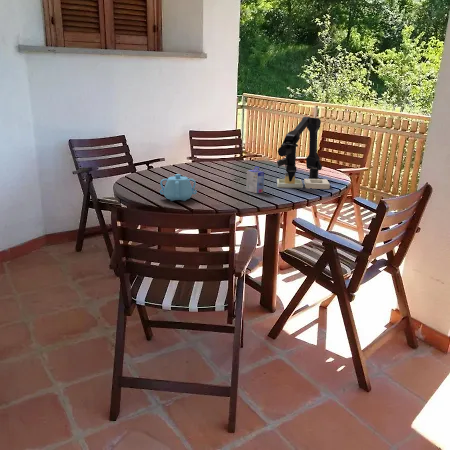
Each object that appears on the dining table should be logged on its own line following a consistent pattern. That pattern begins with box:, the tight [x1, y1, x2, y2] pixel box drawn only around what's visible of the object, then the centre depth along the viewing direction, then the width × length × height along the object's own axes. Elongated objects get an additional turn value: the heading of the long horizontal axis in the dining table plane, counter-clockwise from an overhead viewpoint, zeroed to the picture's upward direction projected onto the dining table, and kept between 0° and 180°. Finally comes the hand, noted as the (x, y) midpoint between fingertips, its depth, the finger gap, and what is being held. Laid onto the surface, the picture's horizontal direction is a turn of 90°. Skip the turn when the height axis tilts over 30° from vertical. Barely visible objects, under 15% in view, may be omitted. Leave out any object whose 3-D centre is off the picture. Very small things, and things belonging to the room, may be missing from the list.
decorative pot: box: [159, 173, 198, 202], centre depth 242 cm, size 16×16×14 cm
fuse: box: [284, 172, 296, 184], centre depth 277 cm, size 4×6×7 cm
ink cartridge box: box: [245, 165, 265, 194], centre depth 259 cm, size 10×6×14 cm, turn 38°
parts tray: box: [276, 178, 304, 189], centre depth 277 cm, size 14×15×2 cm
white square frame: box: [303, 178, 331, 190], centre depth 276 cm, size 14×14×3 cm
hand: (289, 179), depth 277 cm, fingers open, 9 cm apart
